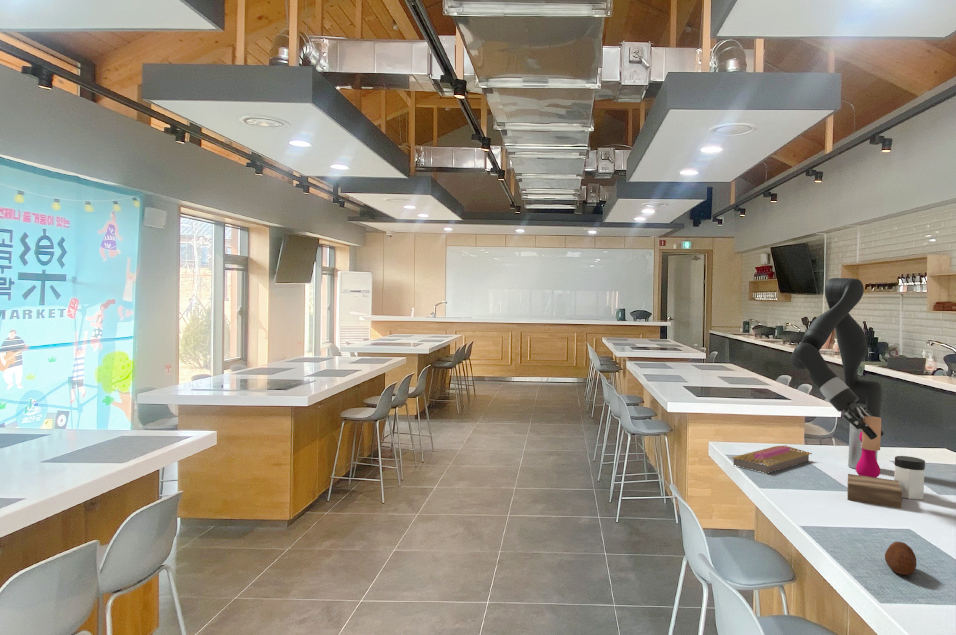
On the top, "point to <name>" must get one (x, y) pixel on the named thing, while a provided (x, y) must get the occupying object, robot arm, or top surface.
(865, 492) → the base block
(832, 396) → the robot arm
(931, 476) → the top surface
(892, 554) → the potato
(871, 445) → the post
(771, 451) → the slab with pink ridge
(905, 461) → the jar
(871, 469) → the pepper mill
